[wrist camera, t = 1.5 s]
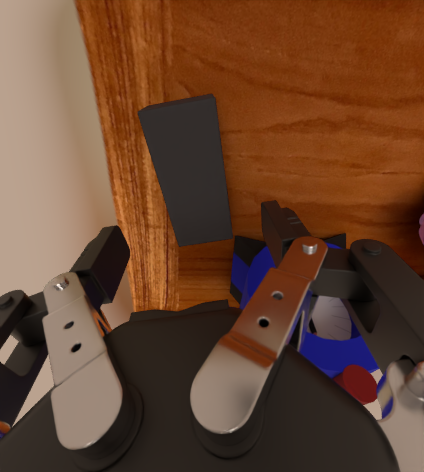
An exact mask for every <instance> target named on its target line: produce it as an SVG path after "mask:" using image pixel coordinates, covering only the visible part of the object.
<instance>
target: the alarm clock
mask: <svg viewBox="0 0 424 472" xmlns="http://www.w3.org/2000/svg"><path fill="white" fill-rule="evenodd" d="M324 242H325V243H326V244H327V246H328V247H330V248H339V249H346V233H345V234H342V235H339V236H336V237H333V238H330V239H327V240H324ZM271 267H275V268H276V266H275V264H274V261H273V259H272V256H271V254H270V251H269V249H268V246H267V244H266V242H262V241H258V240H253V239H249V238H244V237H240V236H235V243H234V254H233V265H232V276H231V286H230V293H231V294H232V296H233V297H234V298H235V299H236V300H237V301H238V303H239V304H240V308H239V309H242V310H244V308H245V307H246V305H247V303H248V302H249V300H250V299H251V297H252V296H253V294H254V292H255V291H256V289H257V288H258V286H259V285H260V283H261V281H262V280H263V278H264V277H265V275H266V274H267V272H268V270H269V269H270V268H271ZM300 353H301V354H302V355H304V356H305V357H306V358H307V359H308V360H310V361H311V362H312V363H313V364H315V365H316V366H317V367H318V368H319V369H321V370H322V371H323V372H324V373H325V374H327V375H328V376H329V377H330V378H331V379H333V380H334V381H335V382H336V383H338V384H339V385H340V386H341V387H342V388H344V389H345V390H346V391H347V392H348V393H350V394H351V395H352V396H353V397H354V398H356V399H357V400H358V401H359V402H360V403H361V404H362V405H365V404H368V403H371V402H374V401H375V400H376V399H377V393H376V388H377V383H376V381H375V379H374V378H373V376H372V375H371V374H370V373H372V372H374V371H376V370H377V369H380V368H379V367H378V365H377V363H376V361H375V359H374V358H373V356H372V354H371V352H370V351H369V349H368V347H367V345H366V343H365V342H364V340H363V338H362V336H361V334H360V333H359V331H358V329H357V327H356V325H355V324H354V322H353V320H352V318H351V316H350V315H349V313H348V311H347V309H346V307H345V306H344V304H343V302H342V300H341V299H340V298H334V297H326V296H319V298H318V301H317V304H316V306H315V309H314V312H313V314H312V317H311V320H310V322H309V325H308V328H307V331H306V335H305V339H304V342H303V346H302V348H301V351H300Z"/></svg>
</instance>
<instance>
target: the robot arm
mask: <svg viewBox="0 0 424 472" xmlns="http://www.w3.org/2000/svg"><path fill="white" fill-rule="evenodd" d="M261 216H262V232H263V236H264V239H265V242H266V244H267V246H268V249H269V251H270V254H271V256H272V259H273V261H274V264H275V266H276V268H275V267H271V268H270V269H269V270H268V272H267V274H266V275H265V277H264V278H263V280H262V281H261V283H260V285H259V286H258V288H257V289H256V291H255V292H254V294H253V296H252V297H251V299H250V300H249V302H248V303H247V305H246V307H245V308H244V310H242V309H239V308H235V307H229V304H228V299H226V300H219V301H212V302H205V303H201V304H198V305H196V306H193V307H190V308H187V309H185V310H182V311H166V310H156V309H154V310H147V311H140V312H133V313H131V316H130V320H129V321H128V322H126V323H123V324H121V325H120V326H118V327H116V328H115V329H113V330H112V329H111V327H110V325H109V323H108V321H107V319H106V317H105V315H104V313H103V312H102V310H101V309H100V307H101V305H102V304H107V303H112V301H113V299H114V296H115V294H116V291H117V289H118V286H119V284H120V281H121V279H122V276H123V273H124V271H125V269H126V266H127V263H128V261H129V258H130V249H129V246H128V244H127V242H126V240H125V238H124V235H123V233H122V231H121V229H120V227H119V226H117V225H116V226H110V227H104V228H102V230H101V231H100V233H99V234H98V236H97V237H96V238H95V239H93V240H92V241H91V242H90V243H89V244H88V245H87V246H86V248H85V249H84V251H83V252H82V254H81V256H80V257H79V258H78V260H77V261H76V262H75V264H74V265H73V267H72V268H71V270H70V271H69V272H67V273H63V274H60V275H58V276H57V277H55V278H53V279H52V280H51V281H49V282H48V284H47V285H46V286H45V287H44V290H43V292H40V293H37V294H35V295H32V296H29V297H28V296H27V295H26V294H25V293H24V292H23V291H22V290H15V291H11V292H8V293H6V294H4V295H2V296H1V297H0V349H1V347H2V346H3V344H4V343H5V342H6V340H7V339H8V337H9V336H10V335H12V336H13V337H14V338H15V339H17V340H18V341H19V343H18V344H17V346H16V347H15V349H14V350H13V352H12V354H11V355H10V357H9V359H8V360H7V361H6V363H5V365H4V364H2V363H1V362H0V472H424V280H423V279H422V278H421V277H420V276H419V275H418V274H417V273H416V272H415V271H413V270H412V269H411V268H410V267H409V266H408V265H407V264H406V263H405V262H404V261H403V260H402V259H401V258H400V257H399V256H398V255H397V254H396V253H395V252H394V251H393V250H392V249H391V248H390V247H389V246H388V245H386V244H384V243H382V242H379V241H376V240H371V239H361V240H357V241H354V242H353V243H352V244H351V247H350V249H339V248H330V247H328V246H327V244H326V243H325V242H324V241H323V240H321V239H319V238H316V237H312V236H311V235H310V233H309V232H308V230H307V229H306V228H305V226H304V225H303V223H301V221H300V219H299V218H298V216H297V215H296V214H295V212H294V211H292V210H290V209H289V208H280V206H279V204H278V203H277V201H276V200H274V201H267V202H262V203H261ZM319 296H326V297H334V298H340V299H341V300H342V302H343V304H344V306H345V307H346V309H347V311H348V313H349V315H350V316H351V318H352V320H353V322H354V324H355V325H356V327H357V329H358V331H359V333H360V334H361V336H362V338H363V340H364V342H365V343H366V345H367V347H368V349H369V351H370V352H371V354H372V356H373V358H374V359H375V361H376V363H377V365H378V367H379V368H380V370H381V372H382V374H383V376H382V377H381V379H380V381H379V383H378V385H377V388H376V393H377V398H378V401H379V404H380V406H381V410H382V419H380V420H376V419H375V418H374V417H373V415H372V414H371V413H370V412H369V411H368V410H367V409H366V408H365V407H364V406H363V405H362V404H361V403H360V402H359V401H358V400H357V399H356V398H354V397H353V396H352V395H351V394H350V393H348V392H347V391H346V390H345V389H344V388H342V387H341V386H340V385H339V384H338V383H336V382H335V381H334V380H333V379H331V378H330V377H329V376H328V375H327V374H325V373H324V372H323V371H322V370H321V369H319V368H318V367H317V366H316V365H315V364H313V363H312V362H311V361H310V360H308V359H307V358H306V357H305V356H304V355H302V354H301V353H300V351H301V348H302V346H303V342H304V339H305V335H306V331H307V328H308V325H309V322H310V320H311V317H312V314H313V312H314V309H315V306H316V304H317V301H318V298H319ZM48 354H49V359H50V364H51V370H52V375H53V380H54V387H53V388H52V389H51V390H50V391H49V392H47V393H46V395H44V396H43V397H42V398H41V399H40V400H39V401H38V402H37V403H36V404H35V405H34V406H33V407H32V408H31V409H30V410H29V411H28V412H27V413H26V414H25V415H24V416H23V417H22V418H21V419H20V420H19V421H18V422H17V423H16V424H15V425H14V426H13V424H14V422H15V420H16V418H17V416H18V414H19V412H20V410H21V408H22V406H23V404H24V402H25V400H26V398H27V396H28V394H29V392H30V390H31V388H32V386H33V384H34V382H35V380H36V378H37V376H38V374H39V372H40V370H41V368H42V365H43V364H44V362H45V360H46V358H47V355H48ZM12 426H13V427H12Z"/></svg>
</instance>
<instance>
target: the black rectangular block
mask: <svg viewBox="0 0 424 472" xmlns="http://www.w3.org/2000/svg"><path fill="white" fill-rule="evenodd" d="M138 116H139V119H140V123H141V126H142V129H143V132H144V136H145V139H146V142H147V145H148V148H149V152H150V155H151V158H152V161H153V165H154V168H155V171H156V174H157V178H158V181H159V184H160V187H161V190H162V194H163V197H164V200H165V203H166V207H167V210H168V213H169V216H170V220H171V223H172V226H173V229H174V232H175V236H176V239H177V242H178V245H179V247H181V246H187V245H194V244H200V243H207V242H213V241H220V240H226V239H232V238H233V233H232V225H231V217H230V209H229V201H228V193H227V186H226V178H225V170H224V162H223V154H222V146H221V138H220V131H219V123H218V115H217V107H216V99H215V97H214V96H213V94H208V95H202V96H197V97H192V98H186V99H181V100H176V101H171V102H165V103H160V104H155V105H149V106H147V107H145V108H143V109H141V110H140V111H138Z"/></svg>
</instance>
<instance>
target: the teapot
mask: <svg viewBox="0 0 424 472" xmlns="http://www.w3.org/2000/svg"><path fill="white" fill-rule="evenodd" d="M419 224H420V225H421V226H420V229H419V235H420V238H421V240H422V243H423V245H424V214H423V215H422V216H421V218H420V220H419Z"/></svg>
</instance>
